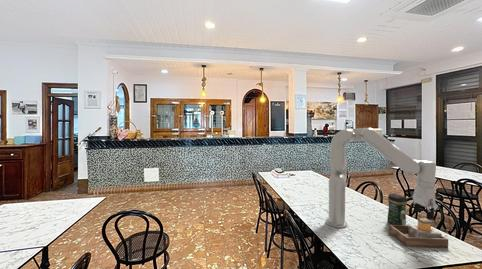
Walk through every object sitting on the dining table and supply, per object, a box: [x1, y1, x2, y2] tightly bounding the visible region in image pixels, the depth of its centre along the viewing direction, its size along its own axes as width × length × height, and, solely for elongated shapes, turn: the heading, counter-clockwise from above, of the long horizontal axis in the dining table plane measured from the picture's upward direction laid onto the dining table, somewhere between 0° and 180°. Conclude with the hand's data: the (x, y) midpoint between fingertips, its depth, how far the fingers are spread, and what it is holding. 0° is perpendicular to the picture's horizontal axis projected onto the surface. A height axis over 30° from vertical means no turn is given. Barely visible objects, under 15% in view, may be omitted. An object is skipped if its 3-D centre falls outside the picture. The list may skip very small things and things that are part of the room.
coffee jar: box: [386, 192, 408, 225], centre depth 146 cm, size 10×8×19 cm
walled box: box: [388, 224, 449, 249], centre depth 125 cm, size 16×20×6 cm
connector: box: [416, 217, 433, 231], centre depth 125 cm, size 4×4×10 cm
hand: (423, 215), depth 125 cm, fingers open, 9 cm apart
